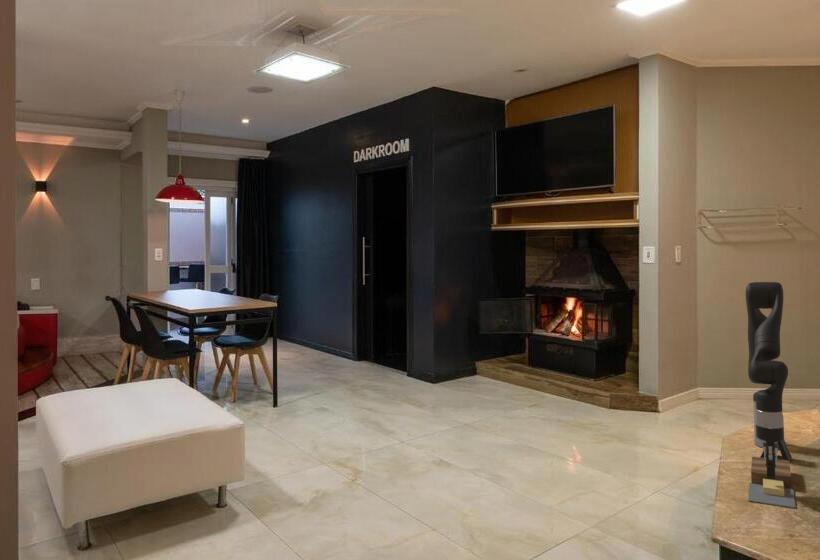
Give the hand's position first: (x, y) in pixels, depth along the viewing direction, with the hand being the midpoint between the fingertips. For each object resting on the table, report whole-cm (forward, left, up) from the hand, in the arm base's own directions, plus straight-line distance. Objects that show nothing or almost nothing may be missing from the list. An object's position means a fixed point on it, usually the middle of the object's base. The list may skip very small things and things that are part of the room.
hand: (771, 478), depth 184 cm
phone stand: (-32, +13, -5) cm, 35 cm away
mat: (+3, -1, -4) cm, 5 cm away
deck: (-12, +4, -4) cm, 14 cm away
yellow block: (-1, +1, -4) cm, 4 cm away
